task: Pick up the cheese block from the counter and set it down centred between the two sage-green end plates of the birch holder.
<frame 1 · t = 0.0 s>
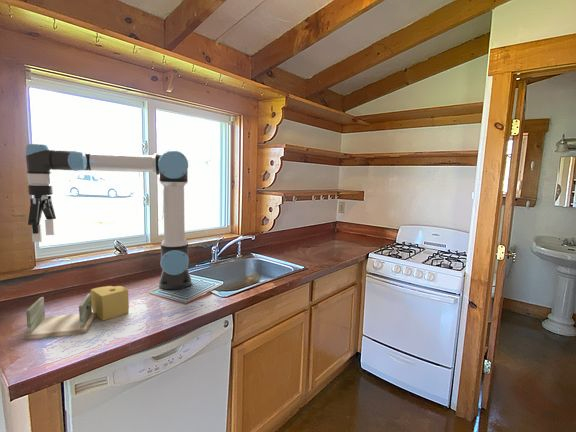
hand: (44, 238, 130), 28 cm above the worktop, fingers open, 13 cm apart
holder: (62, 326, 116), on the worktop
cheese: (110, 314, 128), on the worktop
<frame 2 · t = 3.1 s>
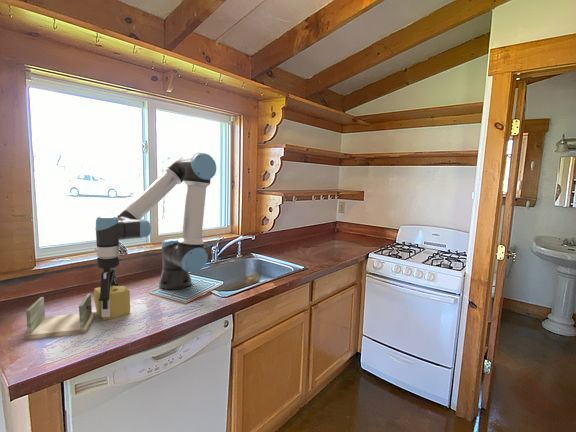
hand: (109, 309, 128), 2 cm above the worktop, fingers open, 13 cm apart
cheese: (113, 313, 129), on the worktop, touching gripper
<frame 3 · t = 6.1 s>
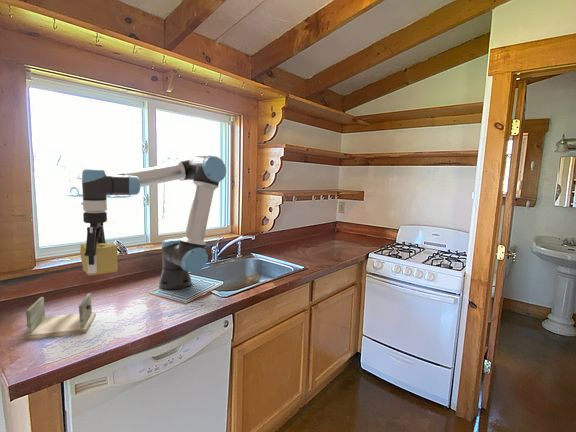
hand: (96, 267, 123), 19 cm above the worktop, fingers closed on cheese, 13 cm apart
cheese: (99, 271, 124), point 18 cm above the worktop, touching gripper
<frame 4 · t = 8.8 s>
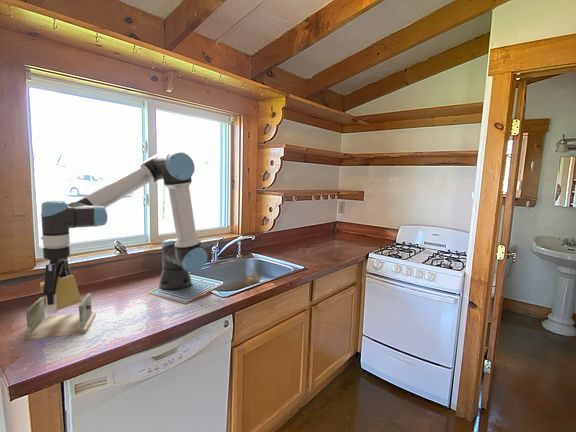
hand: (59, 305, 115), 8 cm above the worktop, fingers closed on cheese, 13 cm apart
cheese: (65, 306, 116), point 8 cm above the worktop, touching gripper, holder
when the fingers open (7 cm above the worktop, at t = 9.0 s): cheese drops 5 cm, point 1 cm above the worktop.
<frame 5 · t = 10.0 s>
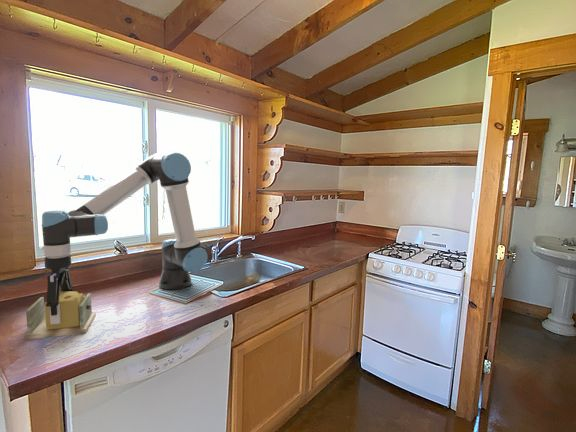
hand: (61, 316, 116), 4 cm above the worktop, fingers open, 11 cm apart
cheese: (67, 323, 116), point 1 cm above the worktop, touching gripper
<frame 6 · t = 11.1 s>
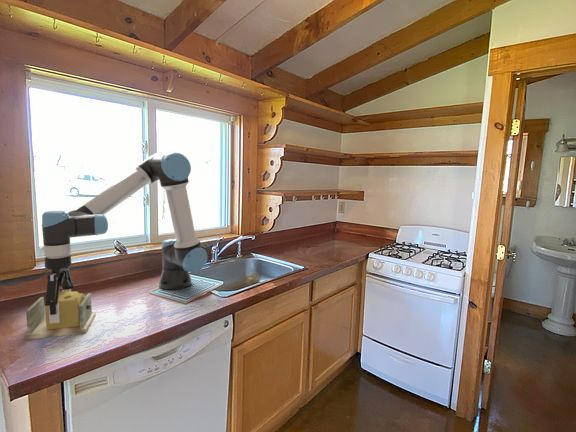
hand: (61, 314, 116), 5 cm above the worktop, fingers open, 13 cm apart
cheese: (67, 323, 117), point 1 cm above the worktop, touching holder
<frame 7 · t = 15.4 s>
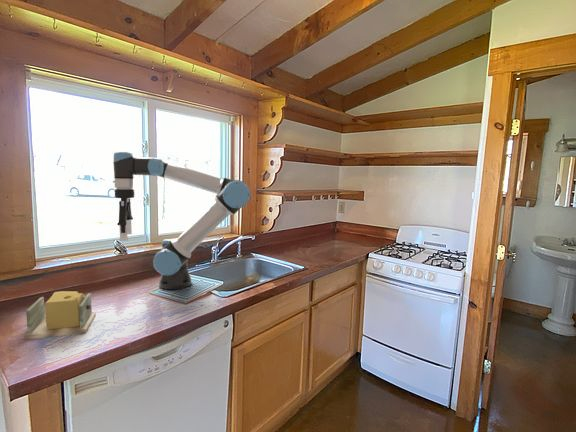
hand: (126, 237, 143), 27 cm above the worktop, fingers open, 13 cm apart
nothing on the worktop moved.
at the end: cheese inside the target area on the holder (1.7 cm from its centre), point 1.3 cm above the holder's base; cheese tilted 0°; the gripper is holding nothing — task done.
